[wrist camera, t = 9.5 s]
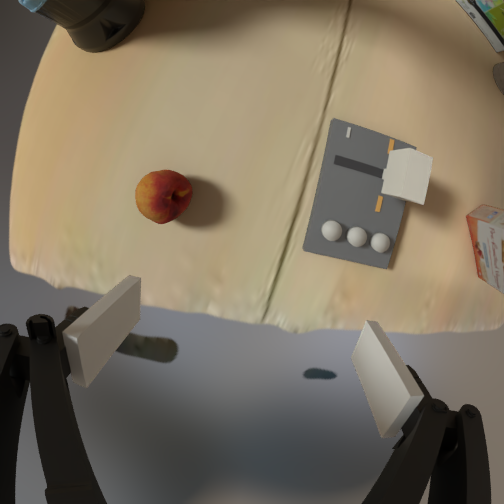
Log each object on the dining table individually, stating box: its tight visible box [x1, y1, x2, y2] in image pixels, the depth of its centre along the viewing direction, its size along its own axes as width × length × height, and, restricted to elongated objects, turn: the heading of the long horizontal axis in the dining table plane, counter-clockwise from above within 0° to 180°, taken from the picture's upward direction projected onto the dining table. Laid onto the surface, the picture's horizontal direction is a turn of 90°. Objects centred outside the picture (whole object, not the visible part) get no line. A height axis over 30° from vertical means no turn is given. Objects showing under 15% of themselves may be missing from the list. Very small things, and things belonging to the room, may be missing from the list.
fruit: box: [135, 170, 192, 224], centre depth 38 cm, size 8×8×8 cm
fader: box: [381, 148, 433, 205], centre depth 33 cm, size 6×4×10 cm, turn 169°
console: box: [303, 118, 416, 269], centre depth 39 cm, size 20×14×4 cm
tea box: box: [456, 0, 504, 52], centre depth 20 cm, size 15×10×15 cm
